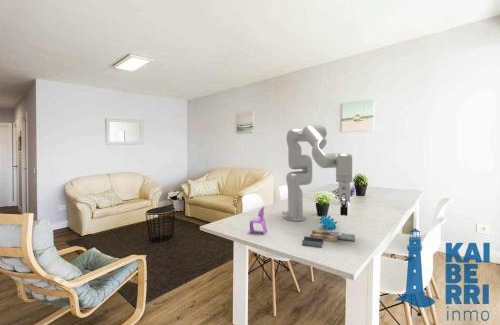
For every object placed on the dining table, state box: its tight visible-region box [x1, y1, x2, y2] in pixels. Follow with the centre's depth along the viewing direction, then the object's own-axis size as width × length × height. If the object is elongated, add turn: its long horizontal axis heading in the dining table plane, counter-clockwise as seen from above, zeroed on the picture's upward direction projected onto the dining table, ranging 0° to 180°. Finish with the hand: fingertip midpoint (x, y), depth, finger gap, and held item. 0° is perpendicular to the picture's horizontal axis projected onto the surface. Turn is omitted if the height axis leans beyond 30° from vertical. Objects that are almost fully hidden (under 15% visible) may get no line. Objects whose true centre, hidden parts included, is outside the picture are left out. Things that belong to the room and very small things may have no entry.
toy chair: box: [249, 206, 269, 236], centre depth 140 cm, size 8×9×15 cm
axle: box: [328, 231, 356, 242], centre depth 127 cm, size 12×3×3 cm, turn 69°
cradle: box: [301, 235, 324, 249], centre depth 121 cm, size 9×7×3 cm
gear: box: [319, 214, 338, 231], centre depth 146 cm, size 11×6×10 cm
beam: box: [309, 229, 339, 243], centre depth 129 cm, size 13×8×3 cm, turn 68°
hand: (344, 212), depth 125 cm, fingers open, 9 cm apart
